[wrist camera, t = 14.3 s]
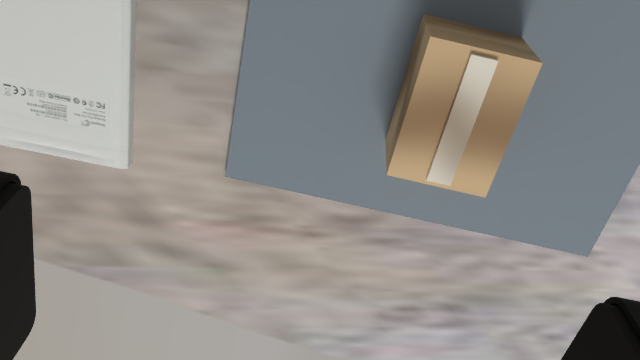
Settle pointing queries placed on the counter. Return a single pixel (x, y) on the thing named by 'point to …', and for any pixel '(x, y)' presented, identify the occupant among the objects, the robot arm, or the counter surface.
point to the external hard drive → (68, 78)
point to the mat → (382, 94)
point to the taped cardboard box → (459, 105)
